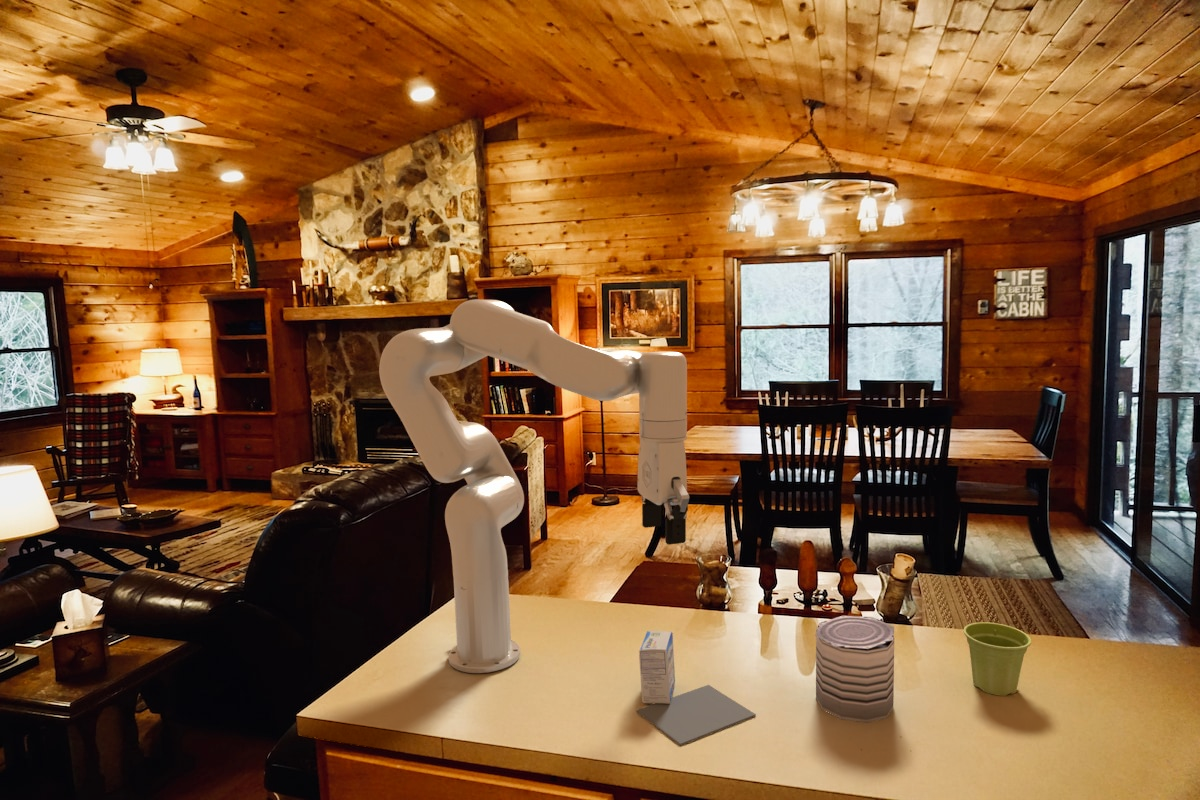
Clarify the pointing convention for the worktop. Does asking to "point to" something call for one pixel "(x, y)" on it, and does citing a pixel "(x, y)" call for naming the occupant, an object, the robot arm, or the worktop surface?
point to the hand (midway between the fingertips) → (663, 534)
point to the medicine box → (657, 667)
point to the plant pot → (996, 656)
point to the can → (855, 668)
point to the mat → (695, 714)
